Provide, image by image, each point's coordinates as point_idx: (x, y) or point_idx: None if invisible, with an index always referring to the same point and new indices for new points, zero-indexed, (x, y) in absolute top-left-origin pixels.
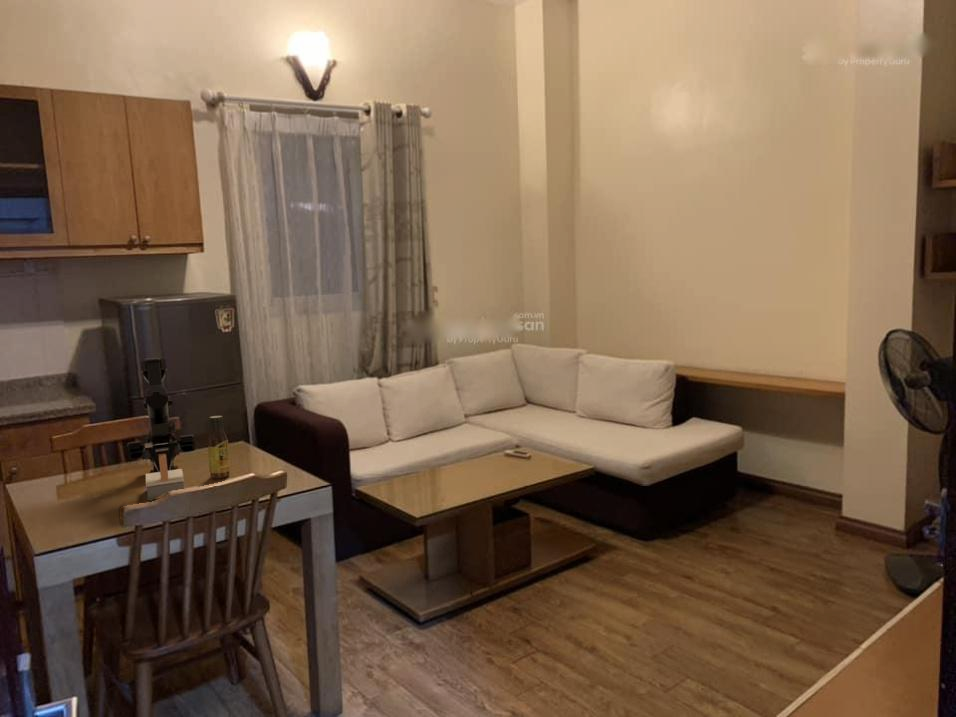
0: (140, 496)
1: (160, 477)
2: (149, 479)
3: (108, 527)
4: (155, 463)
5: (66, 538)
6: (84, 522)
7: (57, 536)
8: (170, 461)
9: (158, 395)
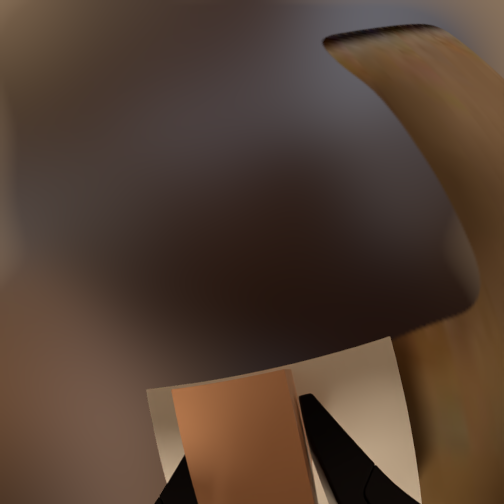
0: (417, 435)
1: (320, 484)
2: (391, 455)
3: (386, 85)
4: (350, 438)
5: (447, 62)
6: (487, 148)
7: (478, 80)
8: (182, 466)
9: None
